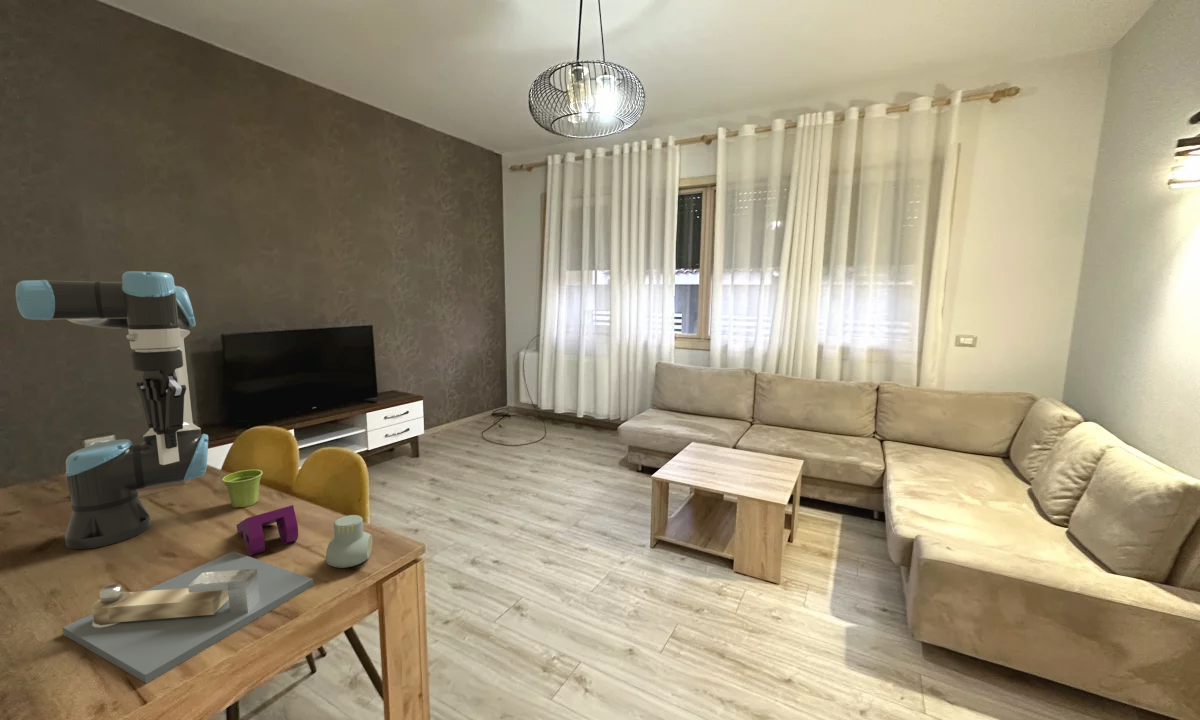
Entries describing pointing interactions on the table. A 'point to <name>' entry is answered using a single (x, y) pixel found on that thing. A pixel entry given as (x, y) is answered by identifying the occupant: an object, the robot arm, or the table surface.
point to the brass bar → (159, 605)
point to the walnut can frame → (159, 488)
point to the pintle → (109, 600)
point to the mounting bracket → (254, 524)
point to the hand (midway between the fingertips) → (169, 462)
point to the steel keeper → (231, 587)
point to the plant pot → (243, 487)
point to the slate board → (184, 621)
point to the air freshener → (349, 543)
